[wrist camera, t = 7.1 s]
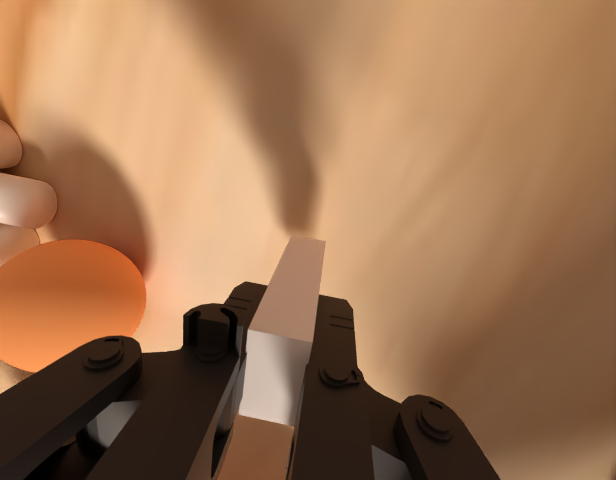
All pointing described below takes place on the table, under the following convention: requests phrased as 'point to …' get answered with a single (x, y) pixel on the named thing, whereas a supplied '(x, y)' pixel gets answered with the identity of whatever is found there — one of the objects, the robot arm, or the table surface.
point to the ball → (65, 300)
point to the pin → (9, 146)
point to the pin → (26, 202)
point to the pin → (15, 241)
